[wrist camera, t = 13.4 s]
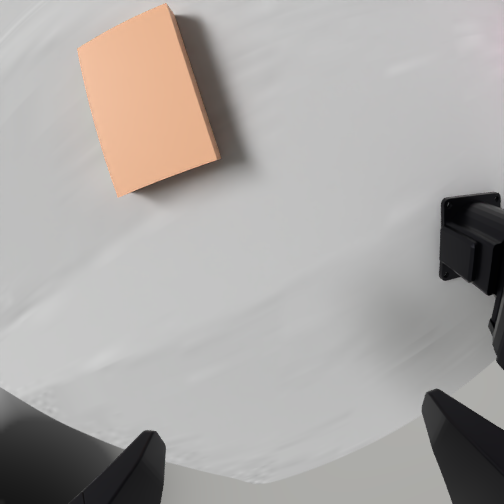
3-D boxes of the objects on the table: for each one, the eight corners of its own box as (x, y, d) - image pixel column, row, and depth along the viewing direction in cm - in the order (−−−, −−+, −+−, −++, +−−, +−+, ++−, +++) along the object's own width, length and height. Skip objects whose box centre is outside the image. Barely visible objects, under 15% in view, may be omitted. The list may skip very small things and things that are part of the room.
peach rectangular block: (222, 158, 18) (176, 17, 15) (217, 159, 16) (166, 3, 12) (133, 191, 19) (94, 56, 16) (118, 197, 17) (77, 48, 13)
